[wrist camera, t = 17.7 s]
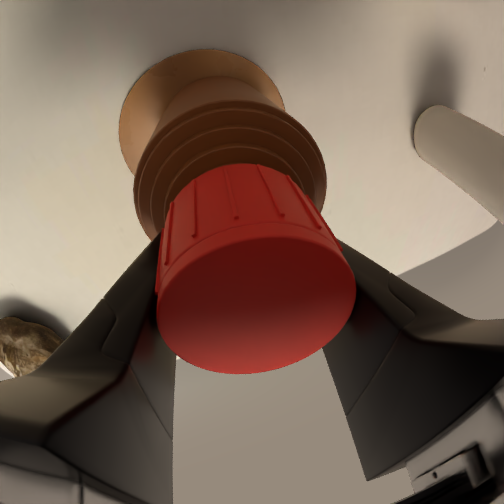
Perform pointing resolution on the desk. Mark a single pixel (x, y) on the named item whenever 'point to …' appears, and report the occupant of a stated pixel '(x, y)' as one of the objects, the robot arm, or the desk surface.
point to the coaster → (170, 83)
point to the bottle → (221, 145)
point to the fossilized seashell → (25, 345)
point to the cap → (249, 273)
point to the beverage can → (464, 154)
